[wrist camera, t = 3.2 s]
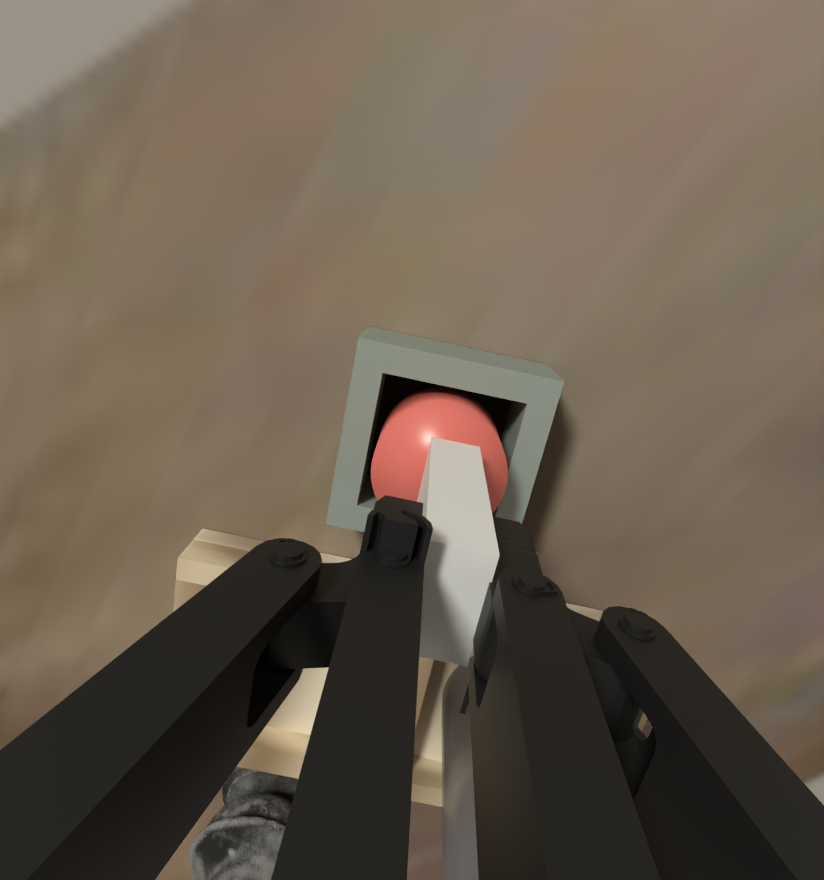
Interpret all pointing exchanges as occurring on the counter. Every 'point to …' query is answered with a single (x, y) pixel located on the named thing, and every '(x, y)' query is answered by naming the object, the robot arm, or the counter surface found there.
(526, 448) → the grey-green square box
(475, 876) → the pepper pot
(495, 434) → the button
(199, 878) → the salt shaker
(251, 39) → the counter surface
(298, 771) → the tray
